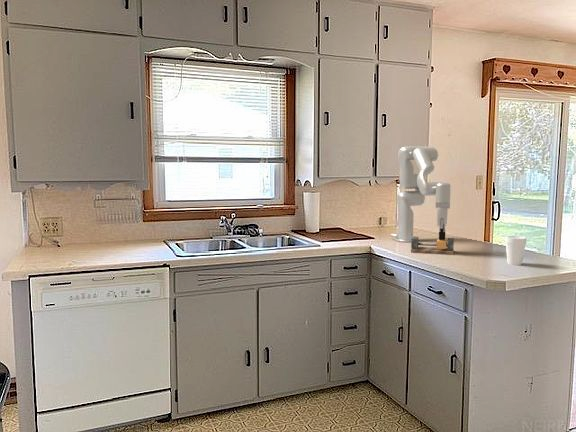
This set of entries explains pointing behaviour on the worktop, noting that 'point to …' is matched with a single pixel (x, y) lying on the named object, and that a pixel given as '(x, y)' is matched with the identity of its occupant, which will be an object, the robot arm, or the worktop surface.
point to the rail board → (431, 250)
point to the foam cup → (515, 249)
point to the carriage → (441, 243)
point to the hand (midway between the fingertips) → (442, 238)
